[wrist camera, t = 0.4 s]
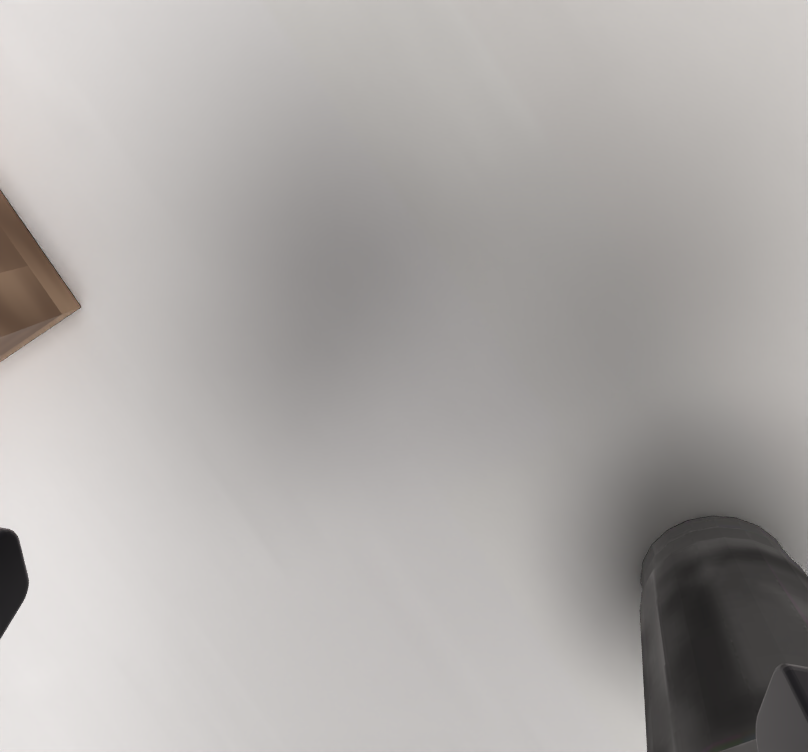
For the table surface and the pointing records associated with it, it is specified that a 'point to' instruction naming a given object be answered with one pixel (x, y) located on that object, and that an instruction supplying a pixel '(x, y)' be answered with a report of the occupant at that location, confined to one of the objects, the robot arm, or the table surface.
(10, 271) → the socket block
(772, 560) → the beverage cup
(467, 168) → the table surface
